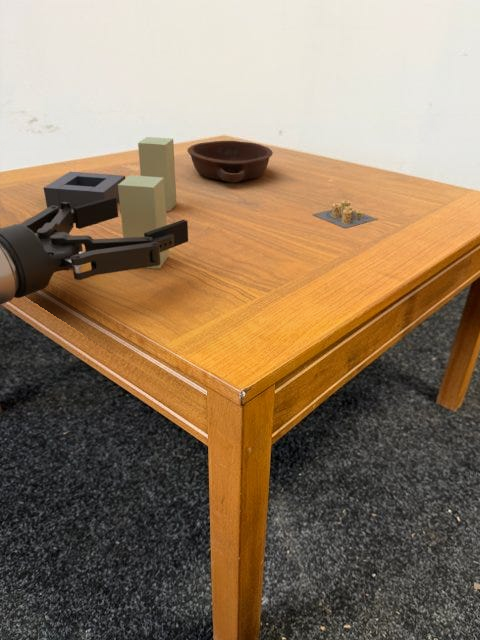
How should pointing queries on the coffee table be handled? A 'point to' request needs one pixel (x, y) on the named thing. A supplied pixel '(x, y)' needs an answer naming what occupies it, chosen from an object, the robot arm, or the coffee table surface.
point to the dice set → (344, 215)
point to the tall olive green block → (143, 207)
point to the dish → (230, 159)
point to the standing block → (159, 164)
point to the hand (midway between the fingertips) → (149, 218)
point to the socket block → (82, 188)
